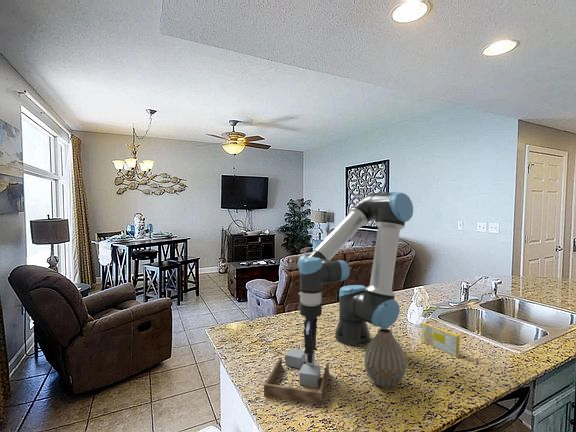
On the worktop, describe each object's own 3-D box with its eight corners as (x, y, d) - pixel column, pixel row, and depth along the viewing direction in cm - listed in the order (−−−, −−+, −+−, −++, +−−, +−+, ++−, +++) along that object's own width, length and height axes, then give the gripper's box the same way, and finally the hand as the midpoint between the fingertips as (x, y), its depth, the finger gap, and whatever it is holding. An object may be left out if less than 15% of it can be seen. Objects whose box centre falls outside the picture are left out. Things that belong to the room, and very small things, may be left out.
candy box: (459, 356, 120) (460, 335, 120) (456, 357, 119) (456, 336, 119) (424, 340, 134) (424, 321, 134) (420, 341, 133) (421, 322, 133)
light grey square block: (320, 377, 106) (320, 366, 106) (317, 387, 100) (317, 375, 100) (303, 375, 107) (303, 363, 107) (299, 384, 101) (299, 372, 101)
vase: (400, 399, 94) (401, 342, 93) (358, 386, 100) (359, 333, 100) (409, 378, 105) (409, 327, 104) (371, 368, 112) (371, 320, 111)
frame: (328, 373, 108) (328, 363, 108) (321, 405, 91) (321, 393, 91) (279, 366, 113) (279, 357, 112) (264, 396, 95) (263, 384, 95)
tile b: (305, 361, 117) (305, 350, 117) (300, 369, 111) (300, 358, 111) (291, 358, 119) (291, 348, 119) (285, 365, 114) (285, 355, 114)
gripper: (304, 296, 114) (303, 359, 115) (295, 308, 101) (295, 378, 102) (324, 298, 112) (323, 362, 113) (318, 310, 99) (318, 382, 100)
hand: (310, 370), depth 107 cm, fingers closed
